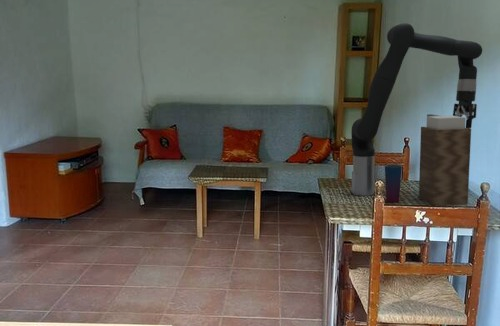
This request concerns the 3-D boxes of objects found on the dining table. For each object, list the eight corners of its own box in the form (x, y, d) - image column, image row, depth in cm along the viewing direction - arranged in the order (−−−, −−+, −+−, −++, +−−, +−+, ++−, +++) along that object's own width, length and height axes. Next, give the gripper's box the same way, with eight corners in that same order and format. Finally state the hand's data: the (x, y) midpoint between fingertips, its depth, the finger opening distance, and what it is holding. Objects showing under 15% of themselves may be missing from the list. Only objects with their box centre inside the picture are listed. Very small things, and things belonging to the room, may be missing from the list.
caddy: (437, 133, 180) (438, 118, 179) (416, 128, 201) (417, 114, 200) (464, 132, 180) (465, 117, 179) (441, 127, 201) (441, 113, 200)
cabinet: (432, 205, 183) (435, 130, 178) (418, 197, 197) (420, 126, 192) (467, 204, 184) (471, 128, 179) (451, 195, 198) (454, 125, 192)
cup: (404, 202, 190) (405, 166, 187) (390, 204, 188) (390, 167, 185) (394, 198, 196) (395, 163, 193) (380, 200, 194) (381, 165, 192)
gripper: (449, 90, 207) (446, 126, 210) (467, 89, 193) (463, 128, 195) (465, 90, 208) (462, 127, 210) (484, 90, 194) (480, 128, 196)
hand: (462, 127), depth 203 cm, fingers open, 8 cm apart
